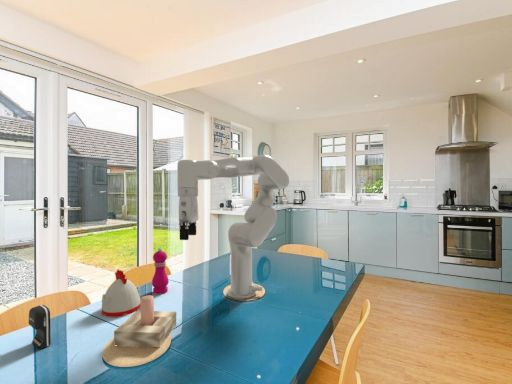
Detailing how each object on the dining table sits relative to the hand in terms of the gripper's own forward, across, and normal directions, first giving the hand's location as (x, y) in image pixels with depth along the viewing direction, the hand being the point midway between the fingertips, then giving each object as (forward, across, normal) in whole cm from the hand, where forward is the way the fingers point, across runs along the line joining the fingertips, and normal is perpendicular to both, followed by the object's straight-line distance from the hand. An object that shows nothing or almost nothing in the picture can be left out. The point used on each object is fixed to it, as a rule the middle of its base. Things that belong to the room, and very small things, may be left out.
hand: (188, 237), depth 108 cm
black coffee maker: (+28, -26, +38) cm, 54 cm away
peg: (+28, -18, +8) cm, 34 cm away
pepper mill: (+28, +18, +19) cm, 39 cm away
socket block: (+28, -18, +8) cm, 34 cm away
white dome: (+29, 0, +27) cm, 39 cm away
